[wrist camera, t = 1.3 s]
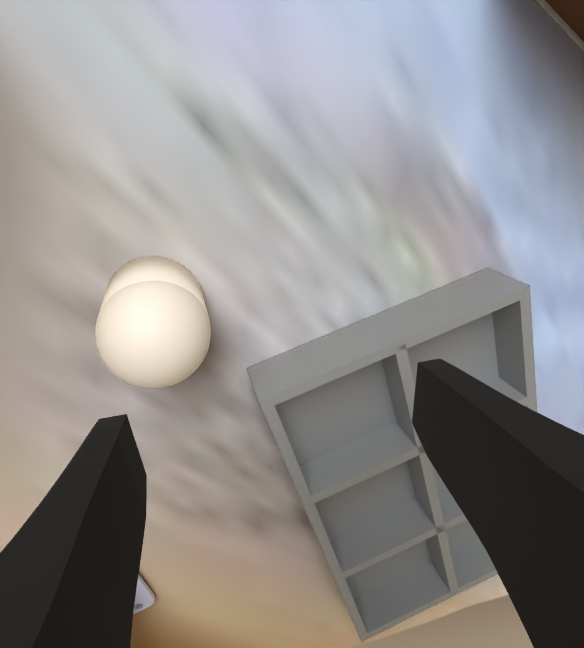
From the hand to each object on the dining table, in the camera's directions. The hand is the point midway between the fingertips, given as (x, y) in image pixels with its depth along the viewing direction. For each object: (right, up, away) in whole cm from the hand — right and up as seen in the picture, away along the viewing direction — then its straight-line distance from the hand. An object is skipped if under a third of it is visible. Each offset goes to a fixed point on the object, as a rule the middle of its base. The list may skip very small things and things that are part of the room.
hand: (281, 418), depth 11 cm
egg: (-6, +3, +10) cm, 12 cm away
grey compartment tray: (+8, -6, +18) cm, 21 cm away
